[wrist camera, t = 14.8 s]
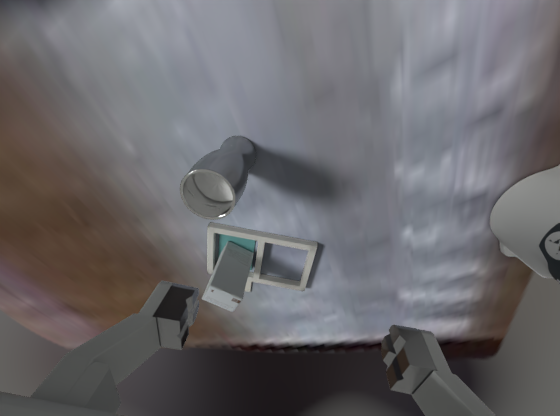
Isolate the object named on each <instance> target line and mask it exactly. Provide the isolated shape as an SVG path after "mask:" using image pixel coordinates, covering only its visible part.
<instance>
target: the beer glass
mask: <svg viewBox="0 0 560 416" xmlns="http://www.w3.org/2000/svg"><path fill="white" fill-rule="evenodd" d="M256 158H257V154H256V150H255V147H254V145H253V144H252V143H251V142H250V141H249V140H248V139H246V138H244V137H241V136H232V137H229V138H227V139H226V140H225V141H224V142H223V143H222V145H221V147H220V149H218V150H215V151H212V152H210V153H209V154H207V155H205V156H204V157H202V158H201V159H200V160H199V161H198V162H197V163H196V164H195V165H194V166H193V167H192V168H191V169H190V171H189V172H188V173H187V174H186V175H185V176H184V178H183V179H182V181H181V184H180V194H181V198H182V200H183V202H184V204H185V205H186V207H187V208H188V209H189V210H190V211H191V212H193V213H194V214H196V215H198V216H200V217H202V218H205V219H213V220H214V219H221V218H223V217H225V216H227V215H228V214H230V213H231V211H232V210H233V208H234V206H235V205H236V204H237V202H238V201H239V199H240V198H241V196H242V194H243V192H244V190H245V187H246V184H247V180H248V171H249V170H250V169H251V168H252V167H253V166H254V164H255V162H256Z"/></svg>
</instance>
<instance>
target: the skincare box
mask: <svg viewBox="0 0 560 416" xmlns="http://www.w3.org/2000/svg"><path fill="white" fill-rule="evenodd" d="M253 255H254V253H252V252H250V251H248V250H246V249H244V248H242V247H240V246H238V245H236V244H234V243H232V242H230V241H228V242H227V243H226V245H225V247H224V248H223V250H222V252H221V254H220V257H219V259H218V261H217V264H216V266H215V268H214V271H213V273H212V276H211V278H210V280H209V283H208V285H207V287H206V290H205V292H204V294H203V297H202V299H203V300H206V301H208V302H210V303H213V304H215V305H217V306H220V307H222V308H224V309H227V310H229V311H231V312H233V311H234V310H235V309H236V307H237V306H238V305H239V303H240V302H241V301H242V299H243V295H244V291H245V287H246V283H247V279H248V275H249V271H250V267H251V263H252V259H253Z"/></svg>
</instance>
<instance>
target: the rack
mask: <svg viewBox="0 0 560 416" xmlns="http://www.w3.org/2000/svg"><path fill="white" fill-rule="evenodd" d="M216 233H218V234H220V236H219V257H220V254H221V252H222V250H223V248H224V247H225V245H226V243H227V242H228V241H230V242H232V243H234V244H236V245H238V246H240V247H242V248H244V249H246V250H248V251H250V252H252V253H254V246H255V240H256V241H259V242H258V249H257V256H256V263H255V270H254V273H253V272H249V275H248V279H247V283H246V287H245V291H246V292H250V290H251V283H252V282H257V283H262V284H267V285H273V286H278V287H283V288H289V289H294V290H299V291H305V287H306V284H307V280H308V277H309V274H310V270H311V267H312V264H313V260H314V257H315V253H316V250H317V242H314V241H309V240H303V239H298V238H293V237H287V236H282V235H276V234H271V233H266V232H260V231H255V230H250V229H244V228H239V227H234V226H228V225H223V224H217V223H212V222H210V223H209V225H208V234H207V273H209V274H212V273H213V271H214V268H215V266H216V265H215V248H216ZM265 242H266V243H272V244H277V245H282V246H288V247H293V248H298V249H304V250H309V251H308V254H307V258H306V261H305V265H304V269H303V272H302V276H301V280H300V281H296V280H291V279H285V278H280V277H275V276H269V275H264V274H260V272H261V265H262V259H263V253H264V246H265ZM252 262H253V259H252ZM251 269H252V263H251V267H250V270H251Z"/></svg>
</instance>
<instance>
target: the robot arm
mask: <svg viewBox="0 0 560 416" xmlns="http://www.w3.org/2000/svg"><path fill="white" fill-rule="evenodd" d="M490 227H491V230H492V232H493V233H494V235H495V236H496V237H497V238H498V240H499V241H500V250H501V252H502V253H503V254H505V255H506V256H509V257H518V258H519V259H520V260H521V261H523V262H524V263H525V264H526V265H527V266H529V267H530V268H531V269H532V270H534V271H535V272H536V273H537V274H539V275H540V276H542V277H544V278H551V279H555V280H557V281H558V282H559V284H560V165H558V166H557V167H554V168H552V169H549V170H545V171H542V172H539V173H536V174H533V175H531V176H529V177H527V178H525V179H523V180H521V181H519V182H518V183H516V184H515V185H513V186H512V187H511V188H510V189H508V190H507V191H506V192H505V193H504V194H503V195H502V196H501V197H500V198H499V200H498V201H497V203H496V204H495V206H494V208H493V210H492V212H491V216H490ZM198 294H199V289H198V288H194V287H190V286H185V285H181V284H176V283H171V282H166V281H161V282H160V283H159V284H158V285H157V287H156V288H155V290H154V291H153V293H152V294H151V296H150V297H149V299H148V300H147V302H146V303H145V305H144V306H143V307H142V309H141V310H140V312H139V313H138V314H133V315H131V316H129V317H128V318H126V319H124V320H123V321H121V322H119V323H118V324H116V325H114V326H112V327H111V328H109V329H107V330H106V331H104V332H102V333H101V334H99V335H97V336H96V337H94V338H92V339H91V340H89V341H87V342H86V343H84V344H82V345H80V346H79V347H77V348H75V349H74V350H72V351H70V352H69V353H67V354H66V355H65V356H64V357H63V358H62V359H61V361H60V362H59V363H58V364H57V365H56V366H55V368H54V369H53V370H52V371H51V373H50V374H49V375H48V376H47V377H46V379H45V380H44V381H43V382H42V384H41V385H40V386H39V387H38V388H37V389H36V391H35V392H34V393H33V394H32V395H31V397H27V396H21V395H16V394H11V393H6V392H0V416H125V415H119V414H116V412H117V410H118V408H119V406H120V404H121V399H120V396H119V393H118V391H117V388H116V385H117V384H119V383H120V382H121V381H122V380H123V379H125V378H126V377H127V376H128V375H129V374H130V373H132V372H133V371H134V370H135V369H136V368H137V367H139V366H140V365H141V364H142V363H143V362H144V361H146V360H147V359H148V358H149V357H150V356H151V355H152V354H154V353H155V352H156V351H157V350H158V349H160V347H166V348H172V349H179V350H182V348H183V346H184V344H185V341H186V339H187V337H188V335H189V327H190V326H191V325H193V323H194V321H195V319H196V316H197V312H198V307H199V301H198V299H197V297H198ZM389 332H390V334H389V335H387V336H385V337H384V339H383V341H382V346H381V352H382V357H383V361H384V362H385V363H386V364H387V366H388V368H387V371H386V374H387V378H388V382H389V386H390V389H391V390H394V391H398V392H402V393H407V394H412V397H413V398H414V400H415V401H416V403H417V404H418V405H419V407H420V408H421V410H422V411H423V413H424V414H425V416H496V415H495V414H494V413H493V412H492V411H491V410H490V409H489V408H488V407H487V406H486V405H485V404H484V403H483V402H482V401H481V400H480V399H479V398H478V397H477V396H476V395H475V394H474V393H473V392H472V391H471V390H470V389H469V388H468V387H467V386H466V385H465V384H464V383H463V382H462V381H461V380H460V379H459V378H458V377H457V376H456V375H455V374H452V373H451V371H450V369H449V367H448V364H447V362H446V360H445V358H444V356H443V354H442V351H441V349H440V347H439V345H438V343H437V340H436V338H435V336H434V334H433V333H432V332H430V331H425V330H419V329H416V328H410V327H404V326H398V325H392V326H391V327H390V329H389Z"/></svg>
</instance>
